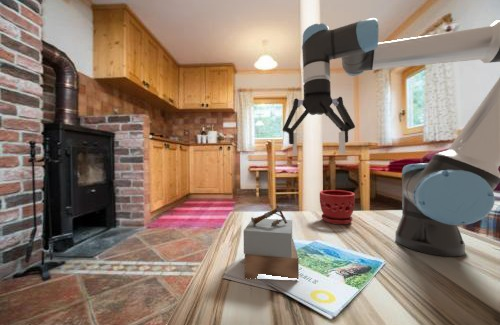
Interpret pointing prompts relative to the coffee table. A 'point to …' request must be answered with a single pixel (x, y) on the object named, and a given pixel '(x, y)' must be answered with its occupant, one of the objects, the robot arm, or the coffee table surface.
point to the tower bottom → (272, 265)
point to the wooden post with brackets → (266, 215)
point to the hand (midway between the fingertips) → (318, 155)
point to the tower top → (269, 238)
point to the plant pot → (337, 206)
